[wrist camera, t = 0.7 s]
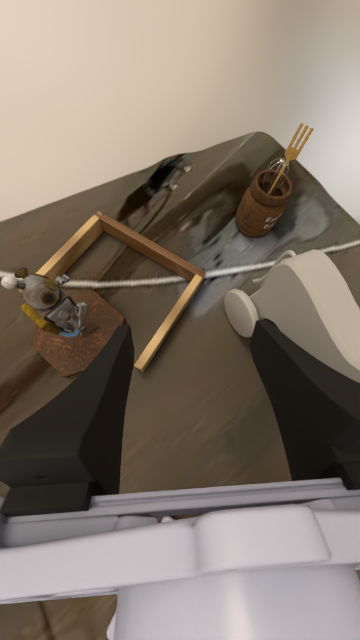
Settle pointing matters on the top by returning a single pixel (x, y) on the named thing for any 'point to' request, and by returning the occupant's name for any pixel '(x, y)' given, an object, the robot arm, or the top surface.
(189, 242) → the top surface
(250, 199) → the utensil holder
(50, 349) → the robot figurine
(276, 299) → the pony
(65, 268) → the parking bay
